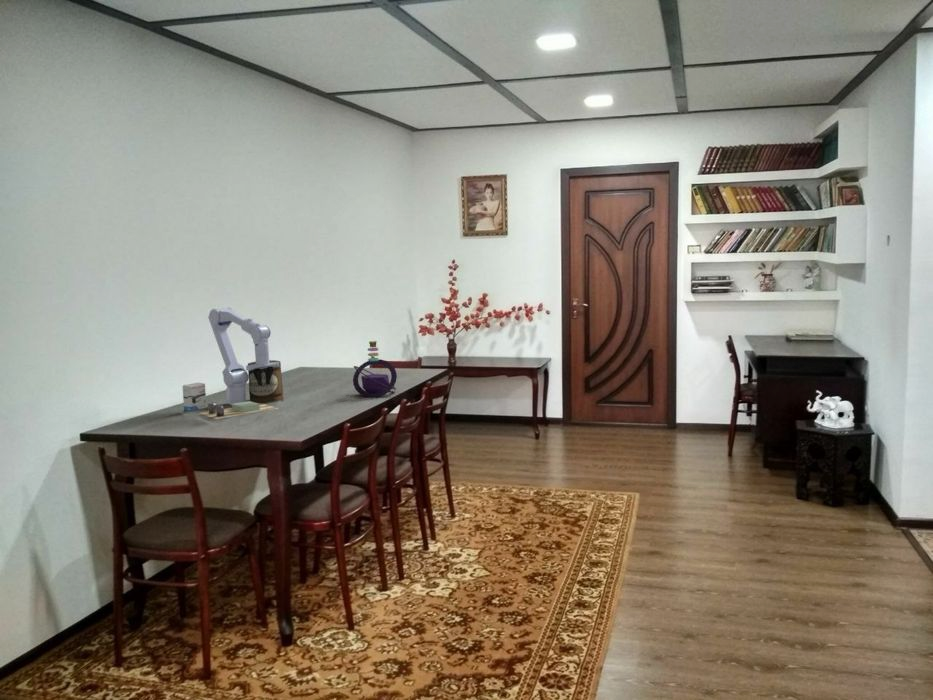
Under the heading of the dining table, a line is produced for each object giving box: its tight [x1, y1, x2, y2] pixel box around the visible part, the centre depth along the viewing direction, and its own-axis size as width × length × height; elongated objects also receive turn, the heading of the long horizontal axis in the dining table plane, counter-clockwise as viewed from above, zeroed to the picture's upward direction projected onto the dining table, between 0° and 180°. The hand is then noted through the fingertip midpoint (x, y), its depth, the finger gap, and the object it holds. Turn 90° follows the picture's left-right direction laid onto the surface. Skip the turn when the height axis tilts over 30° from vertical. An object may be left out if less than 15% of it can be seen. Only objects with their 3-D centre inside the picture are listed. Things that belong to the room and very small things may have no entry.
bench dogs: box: [207, 402, 225, 417], centre depth 318 cm, size 11×3×4 cm, turn 41°
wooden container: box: [247, 359, 284, 404], centre depth 348 cm, size 15×15×22 cm
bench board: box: [199, 403, 280, 420], centre depth 325 cm, size 18×28×1 cm, turn 131°
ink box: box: [182, 382, 208, 412], centre depth 332 cm, size 8×5×12 cm, turn 149°
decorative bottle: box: [352, 340, 398, 399], centre depth 359 cm, size 22×21×25 cm
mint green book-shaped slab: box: [231, 400, 260, 413], centre depth 327 cm, size 10×8×2 cm
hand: (264, 385), depth 331 cm, fingers open, 3 cm apart
